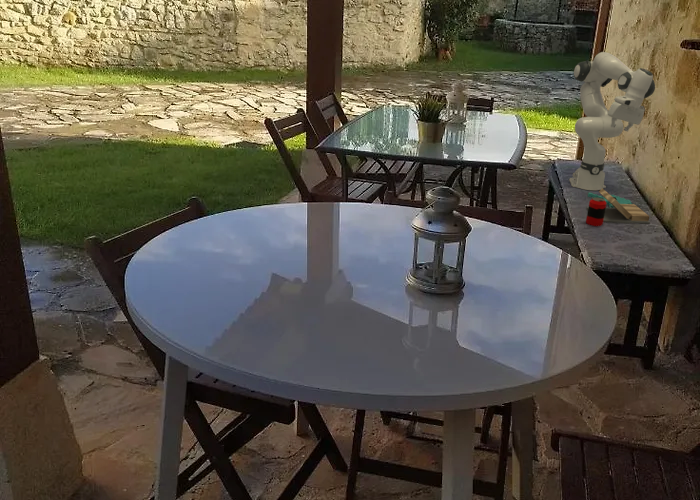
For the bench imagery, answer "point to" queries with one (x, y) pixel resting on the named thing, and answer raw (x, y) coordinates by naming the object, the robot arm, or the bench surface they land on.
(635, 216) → the laid plank
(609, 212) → the underlay mat
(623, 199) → the alien figure
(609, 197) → the board
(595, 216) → the soda can
